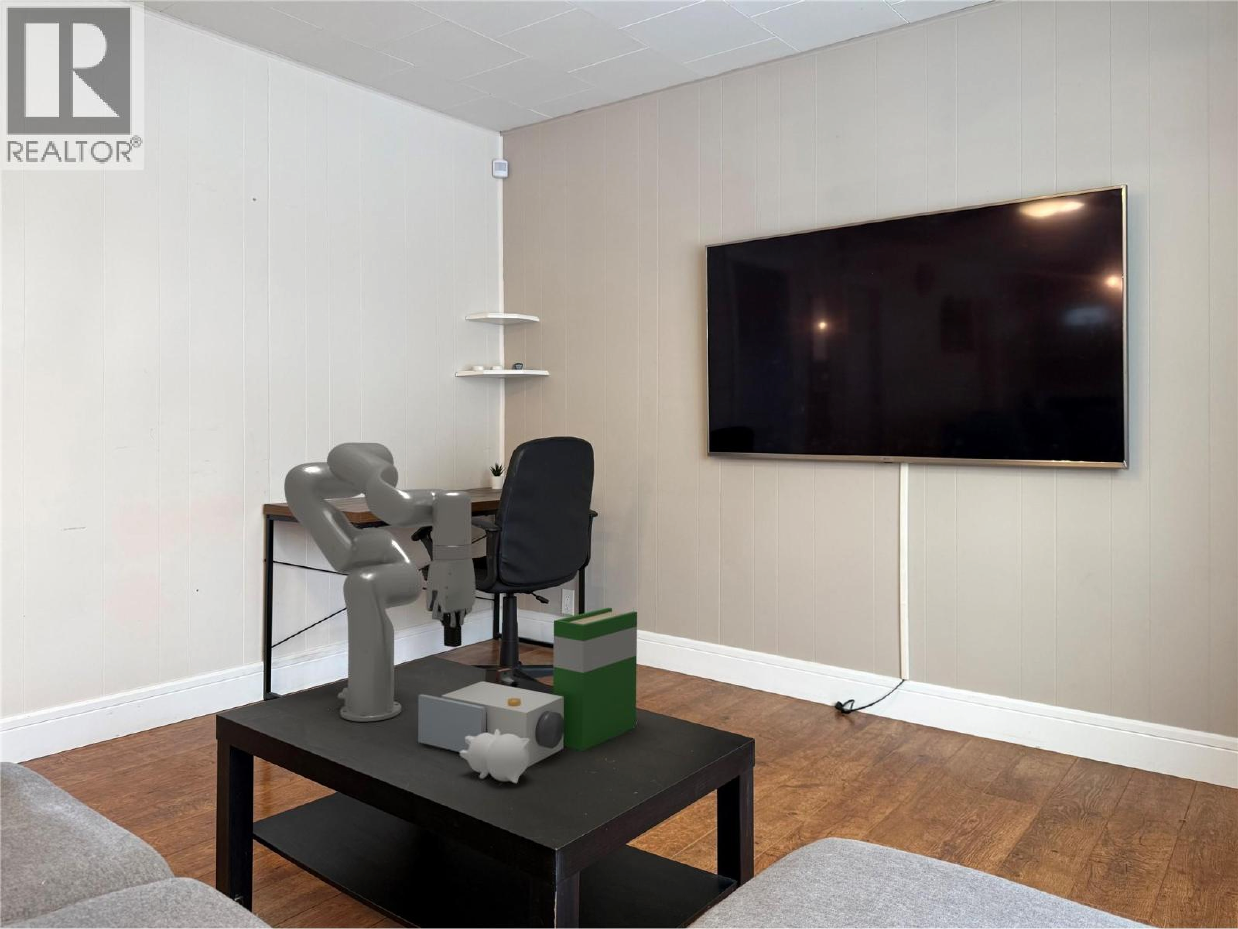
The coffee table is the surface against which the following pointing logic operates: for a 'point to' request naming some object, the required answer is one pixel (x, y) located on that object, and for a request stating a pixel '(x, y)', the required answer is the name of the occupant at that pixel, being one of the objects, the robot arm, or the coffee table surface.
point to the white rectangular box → (519, 715)
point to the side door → (448, 722)
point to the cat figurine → (497, 755)
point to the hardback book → (596, 675)
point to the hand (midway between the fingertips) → (452, 645)
